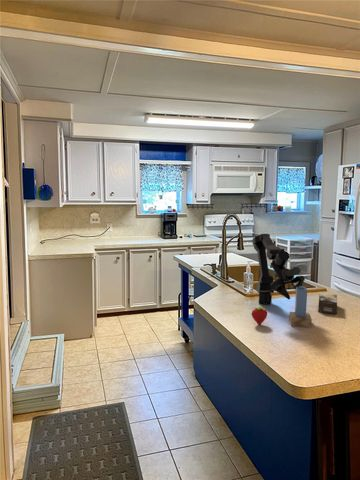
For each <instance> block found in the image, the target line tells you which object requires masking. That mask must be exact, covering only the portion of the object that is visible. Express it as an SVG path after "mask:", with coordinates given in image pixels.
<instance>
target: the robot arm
mask: <svg viewBox="0 0 360 480" xmlns="http://www.w3.org/2000/svg"><path fill="white" fill-rule="evenodd" d="M251 241H252V245H253V249H254V250H255V251H256V252H257V257H258V258H257V259H258V266H259V275H260V277H259V279H258V282H257V285H256V288H255V291H256V292H257V293H258V305H269V306H270V305H271V304H272V297H273V296H272V294H274V292H277V293H278V294H280V295H281V296H283V297H284V298H286V299H288V300H291V296H290V294H289V292H288V290H287V288H286V285H292V286H293V289H295V291H296V287H299V286H303V284H304V282H305V280H306V278H305V276H304V275H300V274H301V269H300V267H299V266H295V267H293V268H290V269H289V268H286V265H287V262H288V261H289V259H290V257H291V256H290V253H289V252H288V251H286V250H285V249H284V248H281V247H279V246H277V245H276V244H275V243H274V241H273V239H272V238H271V236H270V234H269V233H260V234H259V235H255V236H254V237H253V238H252V239H251ZM268 260H269V261H272V262H270V264H269V265H268ZM269 268H270V269H272V270H273V272H274V273H275V275H274V277H275V278H277V279H275V280H274V277H273V276H272V275H271V274H270V272H269V270H270V269H269Z"/></svg>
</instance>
